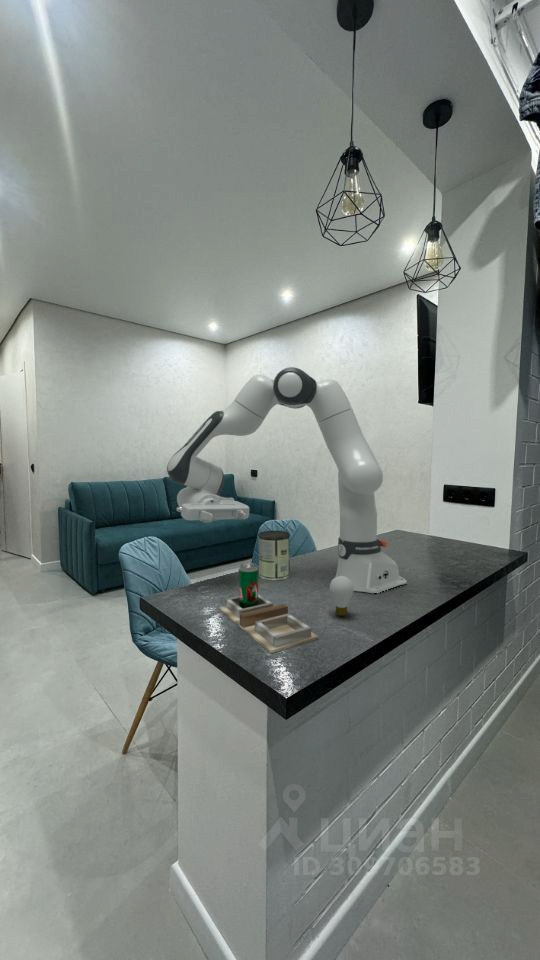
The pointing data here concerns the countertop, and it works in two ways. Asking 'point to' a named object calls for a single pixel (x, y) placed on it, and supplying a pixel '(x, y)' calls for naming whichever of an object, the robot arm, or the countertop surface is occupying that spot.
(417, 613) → the countertop surface
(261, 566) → the coffee can
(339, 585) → the light bulb
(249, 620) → the socket board
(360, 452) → the robot arm
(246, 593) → the soda can
